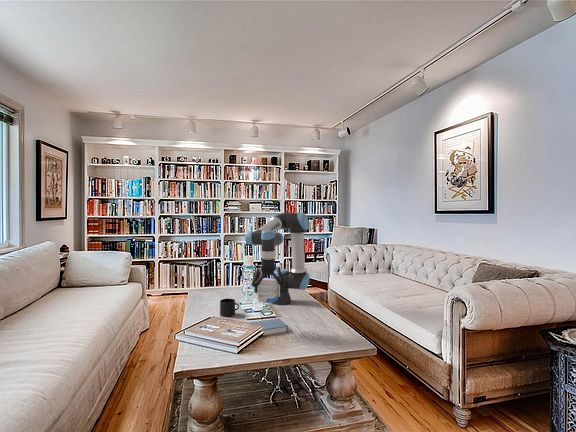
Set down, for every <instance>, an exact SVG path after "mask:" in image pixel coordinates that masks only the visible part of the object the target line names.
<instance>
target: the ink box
mask: <svg viewBox="0 0 576 432" xmlns="http://www.w3.org/2000/svg"><path fill="white" fill-rule="evenodd" d="M258 287H259V299H257V300H258V301H257V302H258V303H265V304H266V303H267V304H272V303H274V302H275V301H276V300H278V282H277V280H276V279H272V278H267V277H263V279H262V281H261V282H260V284H259V285H258Z"/></svg>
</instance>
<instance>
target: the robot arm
mask: <svg viewBox="0 0 576 432" xmlns="http://www.w3.org/2000/svg"><path fill="white" fill-rule="evenodd" d="M308 219H309V218H308V216H307V214H306V213H304V212H281V213H278V214H276V215H274V216H272V217H271V218H270V219H269V220H268V222H266V223H265V224H263V225H262V226H260V227H259V228H258V229H256V230H254V231H248V232H246V234H245V236H244V241H245V243H246V245H251V246H261V251H260V252H261V259H260V260H261V262H260V263H261V264H260V265H261V267H260V268H259V267H256V268H255V272H254V276H253V279H252V281H251V284H250V285H251V286H252V287H254V290H253V291H254V293H255V299H256V300H258V299H259V287H258V285H259V284H260V282H261V281H262V279H264V278H265V276H272V277H271V279H276V280H277V282H278V300H276V301H275V302H274V303H271V304H273V305H277V306H279V305H280V306H283V305H288V304H291V303H292V298H291V295H290V289H291V290H292V289H293V290H299V291H301V290H302V291H303V290H306V289H307V288H308V286H309V283H310V277H311V276H310V273H309V272H308V271H307V269H306V268H305V238H304V237H305V234H306V232H307V230H308V228H309V220H308ZM279 230H288V233H289V234H290V235H291V236H290V237H291V266H292V267H291V269H287V268H285V269H284V268H283V269H281V267H280V266H276V259H275V258H276V247H277V246H281V244H283V242H284V240H285V239H284V238H285V237H284V235H283V234H282V233H281V232H277V231H279ZM260 272H261V273H260ZM259 274H260V275H259Z"/></svg>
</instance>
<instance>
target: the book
mask: <svg viewBox="0 0 576 432" xmlns="http://www.w3.org/2000/svg"><path fill="white" fill-rule="evenodd" d="M250 324H255V325H259V326H263V328H262V329H261V331H263V332H264V334H263V336H262V337H264V336H270V335H277V334H282V333H287V332H289V325H288V324H287V323H286V322H284V321H283V320H282V319H281V318H280V317H279V318H278V317H277V318H271V319H263V320H258V321H257V320H256V321H251V322H249V325H250Z"/></svg>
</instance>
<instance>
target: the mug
mask: <svg viewBox="0 0 576 432" xmlns="http://www.w3.org/2000/svg"><path fill="white" fill-rule="evenodd" d="M236 306H237V308H236ZM239 308H240V305H239V303H238V302H236V300H235V298H223V299H220V301H219V316H221V317H224V318H228V317H234V316H235V315H236V311H237V310H239Z"/></svg>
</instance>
